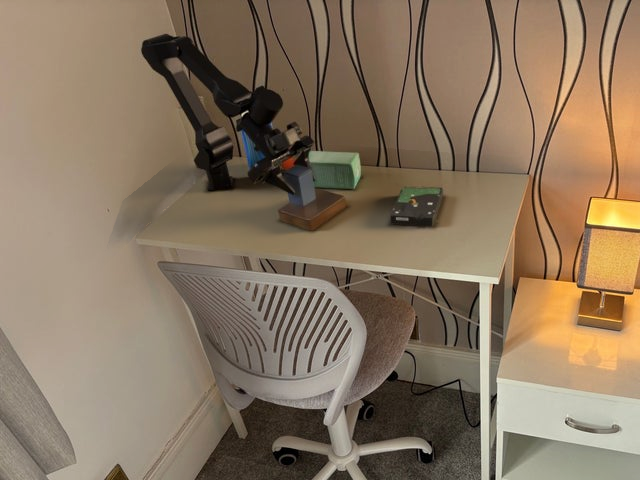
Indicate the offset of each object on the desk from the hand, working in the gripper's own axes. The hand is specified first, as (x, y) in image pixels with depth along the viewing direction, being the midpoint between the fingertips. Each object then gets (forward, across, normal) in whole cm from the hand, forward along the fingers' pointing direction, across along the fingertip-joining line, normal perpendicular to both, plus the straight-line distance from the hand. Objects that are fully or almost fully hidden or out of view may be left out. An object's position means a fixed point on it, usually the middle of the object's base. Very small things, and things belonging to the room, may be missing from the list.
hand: (304, 187), depth 148 cm
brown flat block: (+6, 0, +4) cm, 7 cm away
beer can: (-14, +13, +24) cm, 31 cm away
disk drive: (+21, +13, -11) cm, 28 cm away
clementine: (-7, +16, +17) cm, 24 cm away
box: (+2, +16, +8) cm, 18 cm away
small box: (+2, 0, +4) cm, 4 cm away
